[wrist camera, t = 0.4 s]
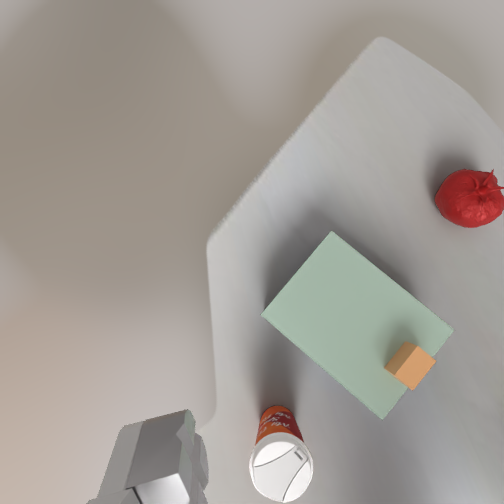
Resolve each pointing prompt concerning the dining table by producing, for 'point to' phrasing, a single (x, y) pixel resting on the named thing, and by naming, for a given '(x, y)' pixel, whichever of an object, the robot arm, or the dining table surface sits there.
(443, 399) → the dining table surface
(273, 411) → the coffee cup
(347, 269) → the lid
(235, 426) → the dining table surface
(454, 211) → the red tomato
